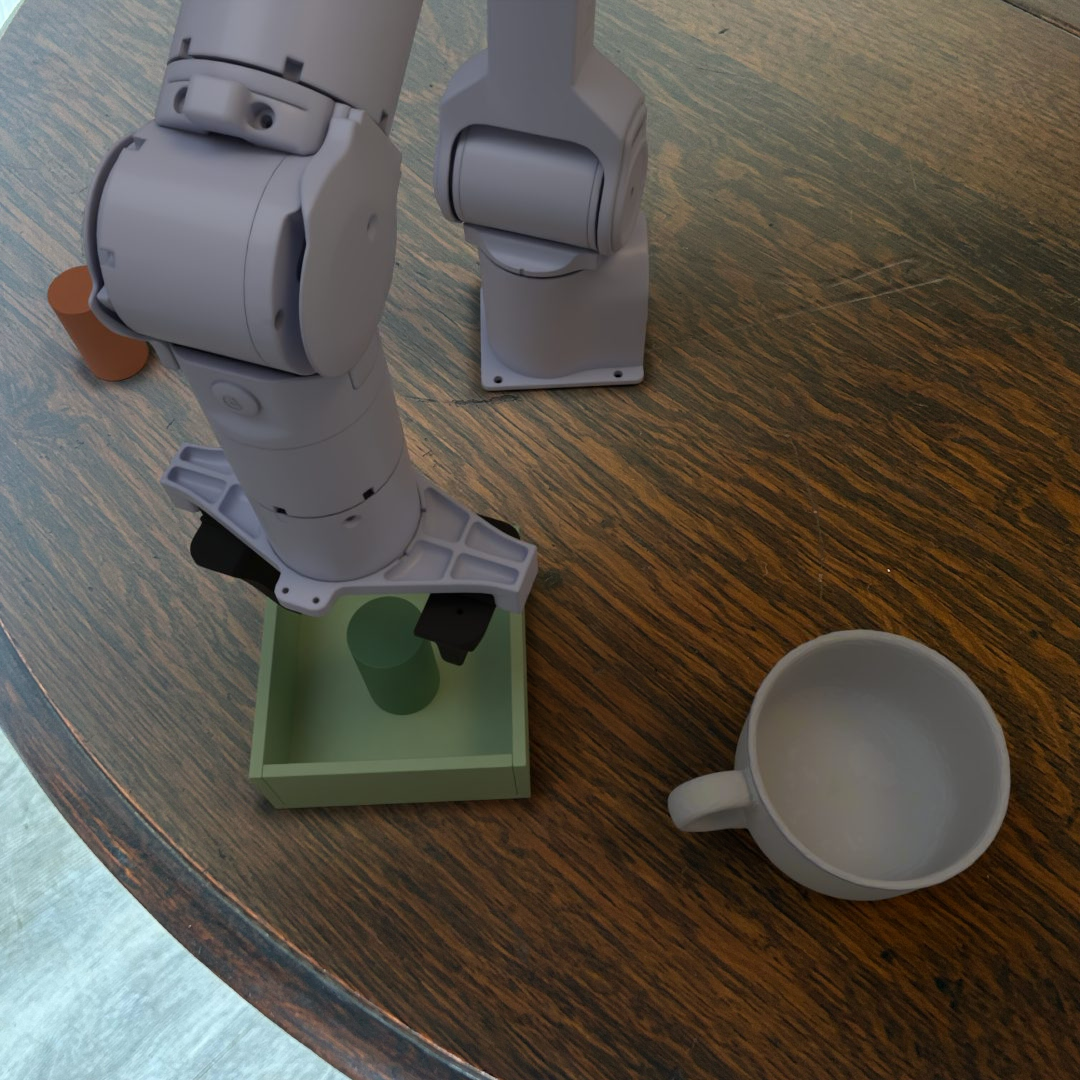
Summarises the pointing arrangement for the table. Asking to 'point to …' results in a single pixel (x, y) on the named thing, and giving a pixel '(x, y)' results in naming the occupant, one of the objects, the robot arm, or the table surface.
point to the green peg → (393, 655)
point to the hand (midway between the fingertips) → (382, 618)
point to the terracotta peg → (93, 328)
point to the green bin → (386, 718)
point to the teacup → (861, 769)
